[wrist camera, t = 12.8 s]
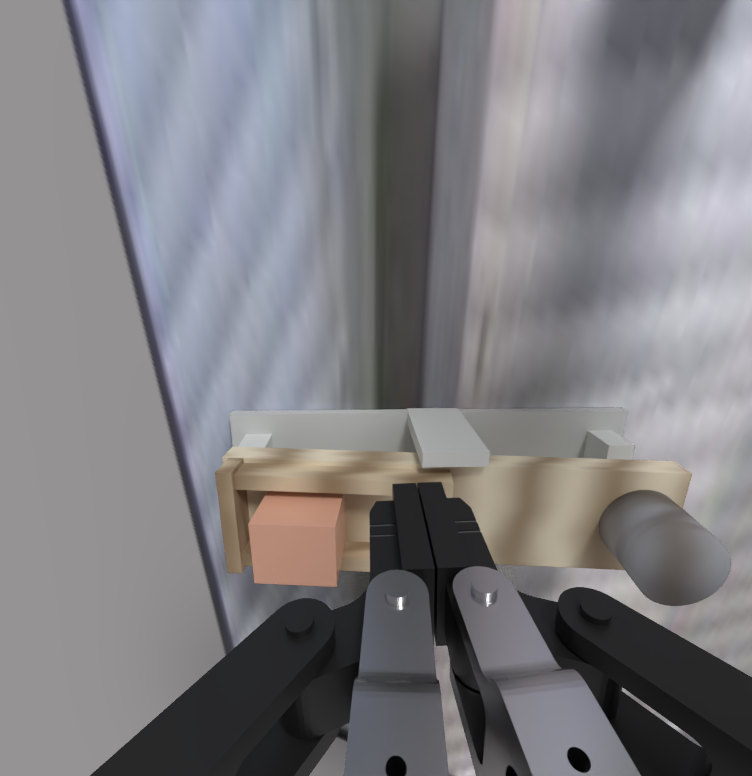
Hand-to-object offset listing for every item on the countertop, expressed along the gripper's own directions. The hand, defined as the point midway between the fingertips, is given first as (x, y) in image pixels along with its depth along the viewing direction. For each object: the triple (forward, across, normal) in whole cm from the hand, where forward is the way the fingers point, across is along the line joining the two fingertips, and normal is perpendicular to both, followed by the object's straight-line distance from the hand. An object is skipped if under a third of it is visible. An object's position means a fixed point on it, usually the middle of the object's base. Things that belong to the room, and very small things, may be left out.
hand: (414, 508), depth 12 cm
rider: (+17, +7, +12) cm, 22 cm away
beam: (+18, -5, +12) cm, 23 cm away
